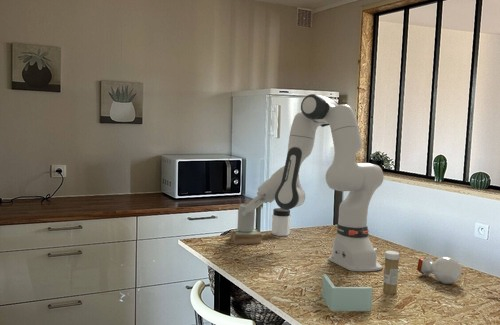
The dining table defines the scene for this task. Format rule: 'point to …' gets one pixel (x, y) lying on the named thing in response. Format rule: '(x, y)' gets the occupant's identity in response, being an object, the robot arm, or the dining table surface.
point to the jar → (281, 222)
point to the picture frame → (245, 237)
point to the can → (245, 220)
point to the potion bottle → (441, 269)
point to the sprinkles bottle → (391, 272)
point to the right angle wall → (346, 297)
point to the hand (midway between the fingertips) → (245, 212)
